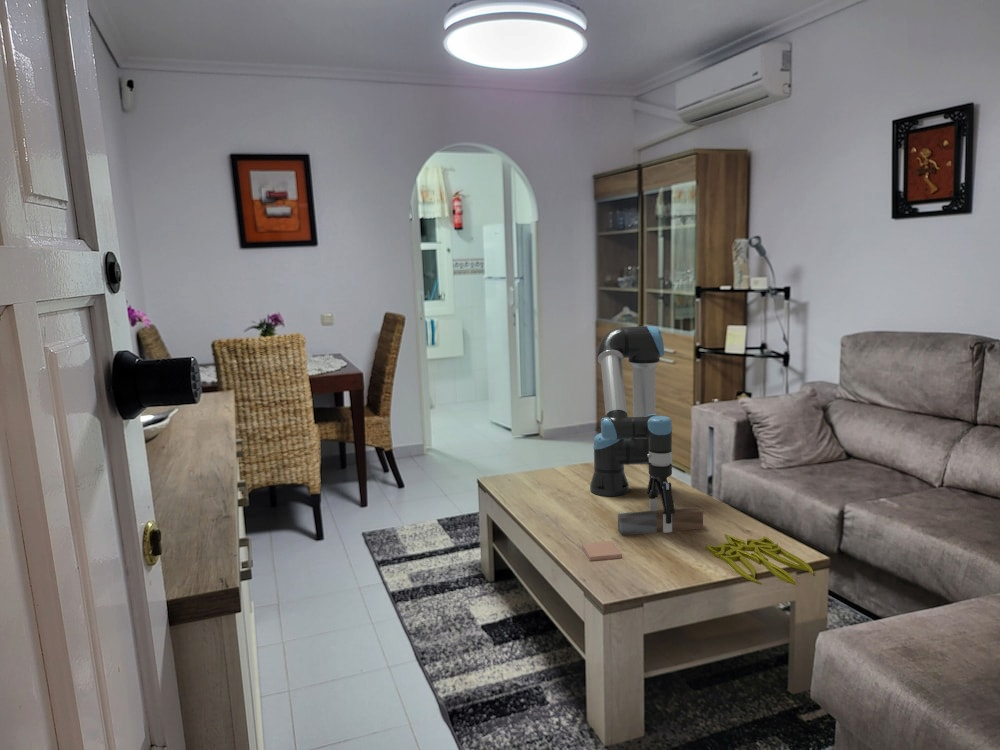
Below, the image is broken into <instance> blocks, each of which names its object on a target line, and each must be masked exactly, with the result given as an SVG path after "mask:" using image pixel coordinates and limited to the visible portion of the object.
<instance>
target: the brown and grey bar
mask: <svg viewBox="0 0 1000 750" xmlns="http://www.w3.org/2000/svg"><path fill="white" fill-rule="evenodd" d="M674 509H675V514H672V532H675V531H686V530H687V531H689V530H698V529H703V528H704V511H703V510H702V509H701V508H700V507H699V506H696V507H683V508H674ZM663 512H664V509H658V510H656V511H650V510H647V511H634V512H633V511H632V512H631V511H630V512H620V513H617V531H618V532H619V534H620V535H621V536H626V535H628V536H629V535H639V534H652V533H664V532H663V514H662V513H663Z"/></svg>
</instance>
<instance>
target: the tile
mask: <svg viewBox="0 0 1000 750" xmlns="http://www.w3.org/2000/svg"><path fill="white" fill-rule="evenodd" d="M581 549H582V550H583V551H584V553H585V555H586V556H587V558H588V559H589V561H590V562H591V561H602V560H603V561H604V560H612V559H614V560H615V559H622V558H623V554H622V552H621V550H620V549H619V548H618V547H617V545H616V544H615V542H614V541H613V540H610V541H598V542H588V543H582V544H581Z"/></svg>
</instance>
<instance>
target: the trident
mask: <svg viewBox="0 0 1000 750" xmlns="http://www.w3.org/2000/svg"><path fill="white" fill-rule="evenodd" d="M724 538H725V539H726V541H727V542H721V543H720V545H708V544H705V549H706V551H708V552H709V553H710V554H712V555H713V556H714V558H718V559H719V560H721V561H722V562H724V563H726V564H727V565H728V564H729V565H730V566H731V567H732V568H733V569H734V570H735V571H734V570H733V569H732V568H731V567H730V566H729V565H728V566H729V567H730V568H731V569H732V570H733V571H734V572H736V573H737V574H738V575H740V576H741V577H743V578H744V579H746V580H748V581H751V582H753V583H756V584H760V585H762V584H763V582H762V581H760V580H758V579H756V569H755V567H754V566H753V564H752V563H751V562H750V561H749V560H750V559H751V561H752V562H755V563H756V564H758V565H760V564H761V565H762V566H763V567H765V569H767V570H768V571H769V572H770V573H771V574H772V575H773V576H775V577H777V578H778V579H779V580H781V581H784V582H786V583H788V584H790V585H794V586H797V581H796V580H795V578H794V577H793V576H792V575H791V574H790V573H789V572H788V571H786V570H784V569H783V568H781V567H780V566H778V565H776V564H774V563H773V562H771V561H769V558H770V559H772V560H773V561H776V562H778V563H780V564H782V565H785V566H787V567H789V568H793V569H797V570H800V571H805V572H809V573H810V574H811V575H813V576H814V574H815V573H814V570H813V568H812V567H811V565H810V564H808V563H807V562H806V561H804V560H803V559H802V558H801V557H799V556H797V555H795V554H793V553H791V552H789V551H787V550H785V549H784V548H782V547H781V546H779V543H775V542H774V541H773V540H772V539H770V538H768V537H766V536H762V538H759V539H758V538H757V539H753V538H748V539H746V541H745V540H743V539H741V538H738V537H735V536H731V535H729V534H727V533H724ZM748 551H752V552H751V553H749V552H748ZM779 553H780V554H781V555H782V556H781V555H780V554H779ZM767 557H769V558H767ZM784 557H785V558H784ZM738 559H740V560H738ZM733 560H735V561H733ZM736 561H739V563H741V565H743V566H744V567H745V568H746V569H747V570H748V571H749V572H750V574H751V575H750V574H748V573H747V572H746V571H745V570H744V569H743V568H742V567H740V565H738V564H737V563H736Z"/></svg>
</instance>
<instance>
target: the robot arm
mask: <svg viewBox="0 0 1000 750" xmlns="http://www.w3.org/2000/svg"><path fill="white" fill-rule="evenodd" d="M596 353H597V362H598V364H600V368H601V370H600V371H601V379H602V381H601V382H602V389H603V390H602V391H603V400H604V401H603V402H604V411H605V417H602V418H601V419H600V431H601V432H600V433H598V434H596V435H595V436H594V438H593V446H592V447H593V462H594V465H593V467H594V469H593V470H594V471H593V475H592V478H591V481H590V484H589V489H590V492H591V493H592V494H593V495H594V494H595V495H597V496H601V497H602V496H603V497H617V496H622V495H625V494H627V493H629V491H630V490H629V489H630V486H629V481H628V479H627V476H626V473H625V466H626V465H629V466H631V465H636V466H637V465H647V466H648V475H649V478H648V479H649V480H648V484H647V490H646V494H647V495H648V498H649V504H648V505H649V511H656V510H659V507H658V506H659V504H658V503H659V502H658V501H659V499H658V498H659V495H660V499H661V504H662V508H663V509H662V510H664V512H663V513H662V514H663V532H662V533H664V534H665V533H667V534H668V533H672V532H673V531H672V514H675V509H676V508H675V505H674V498H673V491H672V483H671V482H668V479H667V478H669V477H671V476H672V473H673V464H672V463H673V448H672V447H673V443H672V442H673V441H672V440H673V437H672V436H673V423H672V419H671V418H670V417H669V416H665V415H659V414H657V413H656V366H657V365H658V364H659V363H660V361H661V360H660V359H661V358H662V357H664V356H665V345H664V339H663V334H662V332H661V329H660V328H659V327H658V326H656V325H655V326H651V325H649V326H648V325H642V326H641V325H640V326H620V327H616V328H613V329H610V331H608V332H607V333H606V334H605V335H604V336H603V337H602V338H601V341H600V342H599V345H598V349H597V351H596ZM625 358H626V359H627V358H628V363H629V364H630V365H631V367H632V416H628V409H627V400H626V390H625V383H624V372H623V365H622V363H623V362H624V360H625Z"/></svg>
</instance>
